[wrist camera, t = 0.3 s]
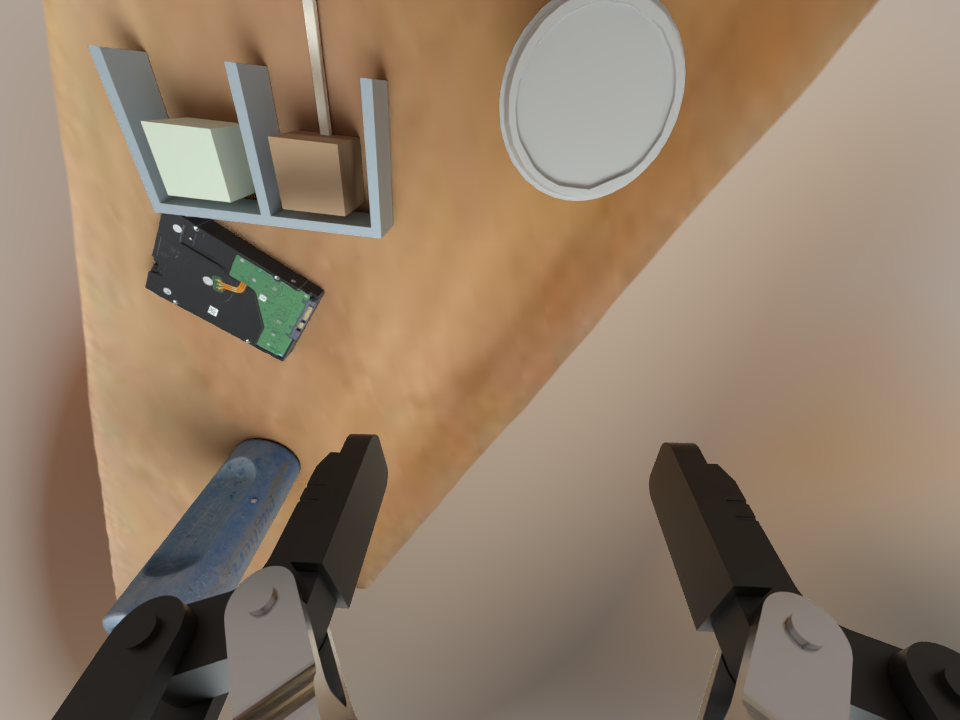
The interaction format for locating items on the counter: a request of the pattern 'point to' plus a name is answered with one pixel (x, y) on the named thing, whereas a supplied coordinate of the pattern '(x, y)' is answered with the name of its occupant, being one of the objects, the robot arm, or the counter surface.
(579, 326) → the counter surface
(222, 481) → the bottle
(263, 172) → the lane rack
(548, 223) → the counter surface
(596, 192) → the disposable coffee cup
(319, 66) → the block with brown handle
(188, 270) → the disk drive
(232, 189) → the block
